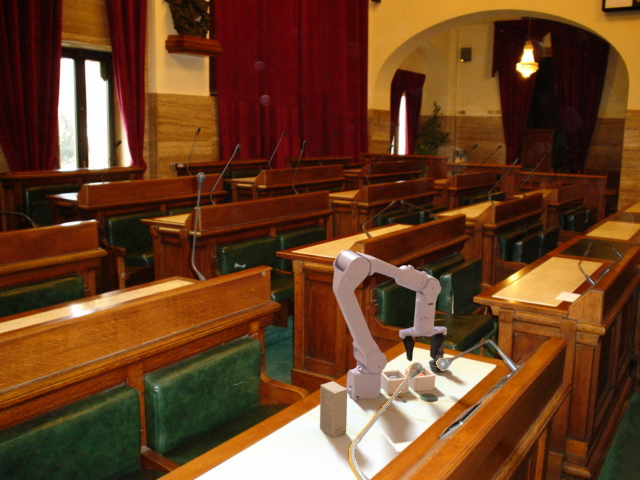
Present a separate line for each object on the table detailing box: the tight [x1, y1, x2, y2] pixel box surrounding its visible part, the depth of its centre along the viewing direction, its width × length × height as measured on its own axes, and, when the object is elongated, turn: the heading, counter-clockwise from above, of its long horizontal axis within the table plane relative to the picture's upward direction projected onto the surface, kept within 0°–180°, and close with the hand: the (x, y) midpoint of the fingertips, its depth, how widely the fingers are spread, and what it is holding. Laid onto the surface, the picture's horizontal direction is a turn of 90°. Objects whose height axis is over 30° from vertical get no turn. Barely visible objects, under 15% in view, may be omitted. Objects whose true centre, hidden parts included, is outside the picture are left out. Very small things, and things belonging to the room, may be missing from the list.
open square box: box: [381, 368, 410, 395], centre depth 184 cm, size 7×7×4 cm
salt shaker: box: [428, 341, 446, 373], centre depth 197 cm, size 6×6×12 cm
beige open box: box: [404, 366, 436, 392], centre depth 186 cm, size 7×7×4 cm
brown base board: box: [397, 393, 439, 404], centre depth 182 cm, size 16×14×2 cm
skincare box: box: [319, 380, 348, 438], centre depth 161 cm, size 6×4×12 cm
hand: (421, 358), depth 185 cm, fingers open, 7 cm apart
